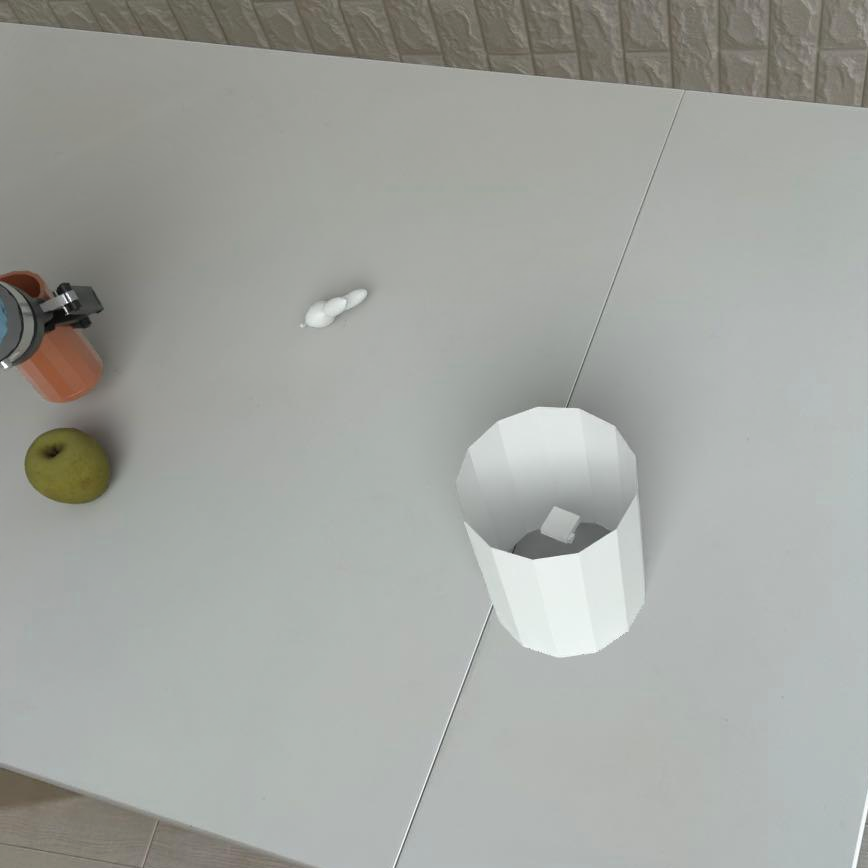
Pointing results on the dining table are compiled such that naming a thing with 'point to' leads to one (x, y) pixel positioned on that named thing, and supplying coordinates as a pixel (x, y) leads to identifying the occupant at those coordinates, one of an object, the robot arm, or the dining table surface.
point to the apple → (67, 466)
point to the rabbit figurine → (332, 309)
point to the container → (556, 527)
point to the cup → (57, 352)
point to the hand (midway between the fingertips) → (44, 332)
